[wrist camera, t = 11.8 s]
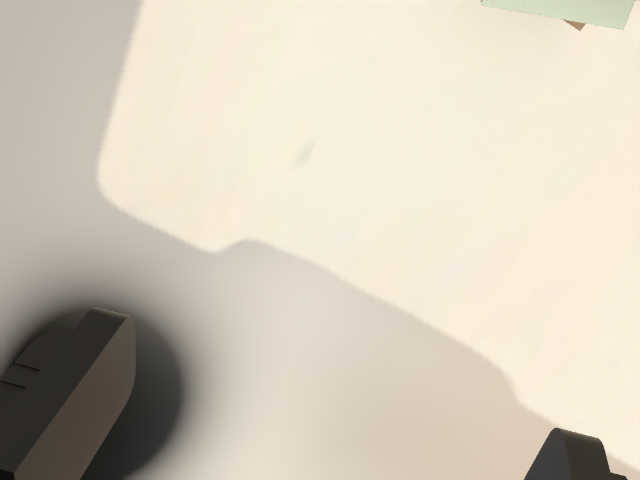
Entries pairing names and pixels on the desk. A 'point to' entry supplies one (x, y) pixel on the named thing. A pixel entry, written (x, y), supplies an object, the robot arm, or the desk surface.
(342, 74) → the desk surface
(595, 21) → the sage cube
